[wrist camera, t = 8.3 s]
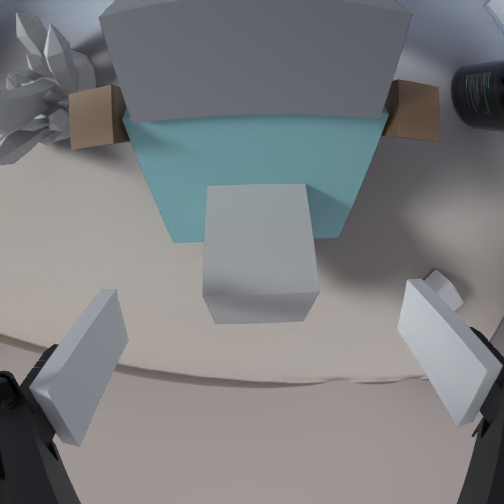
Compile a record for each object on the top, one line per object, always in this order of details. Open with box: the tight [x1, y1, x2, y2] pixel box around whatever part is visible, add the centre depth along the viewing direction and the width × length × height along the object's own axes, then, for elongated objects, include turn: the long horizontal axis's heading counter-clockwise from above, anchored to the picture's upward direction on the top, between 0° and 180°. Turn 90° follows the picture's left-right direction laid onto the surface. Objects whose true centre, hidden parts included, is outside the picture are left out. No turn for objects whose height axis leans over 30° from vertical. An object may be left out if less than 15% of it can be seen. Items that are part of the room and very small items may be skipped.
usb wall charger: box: [424, 269, 463, 312], centre depth 31 cm, size 4×7×4 cm, turn 135°
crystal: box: [0, 12, 97, 165], centre depth 17 cm, size 10×13×15 cm
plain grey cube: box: [203, 184, 320, 324], centre depth 21 cm, size 6×6×7 cm
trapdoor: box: [99, 0, 412, 243], centre depth 18 cm, size 19×13×5 cm
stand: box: [69, 80, 439, 150], centre depth 20 cm, size 5×19×13 cm, turn 91°
